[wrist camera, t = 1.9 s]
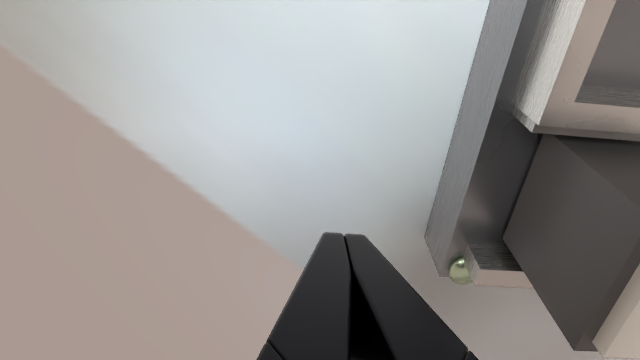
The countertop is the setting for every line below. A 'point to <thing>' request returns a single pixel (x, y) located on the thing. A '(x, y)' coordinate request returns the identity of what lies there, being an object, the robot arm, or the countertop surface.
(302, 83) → the countertop surface
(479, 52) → the breaker panel
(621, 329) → the block
